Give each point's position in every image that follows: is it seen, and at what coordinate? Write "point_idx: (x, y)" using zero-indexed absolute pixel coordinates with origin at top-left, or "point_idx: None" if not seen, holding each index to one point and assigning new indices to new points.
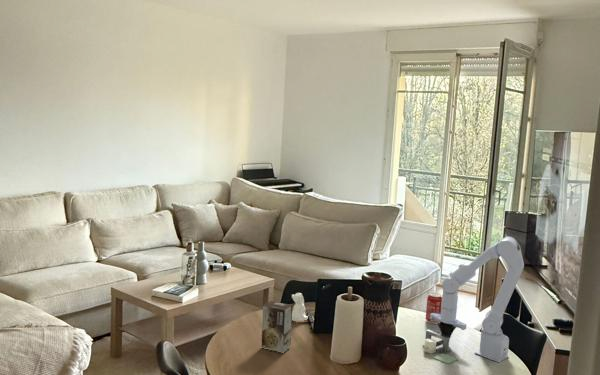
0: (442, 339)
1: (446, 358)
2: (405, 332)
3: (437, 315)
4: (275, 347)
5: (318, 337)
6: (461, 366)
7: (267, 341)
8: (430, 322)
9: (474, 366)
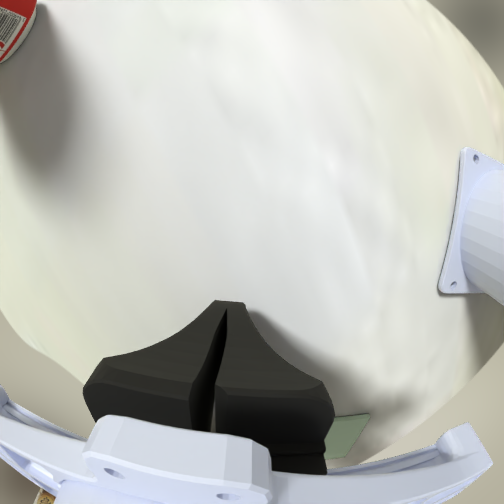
0: None
1: (325, 443)
2: (5, 299)
3: (26, 472)
4: None
5: None
6: (392, 432)
7: None
8: (2, 61)
9: (436, 398)
